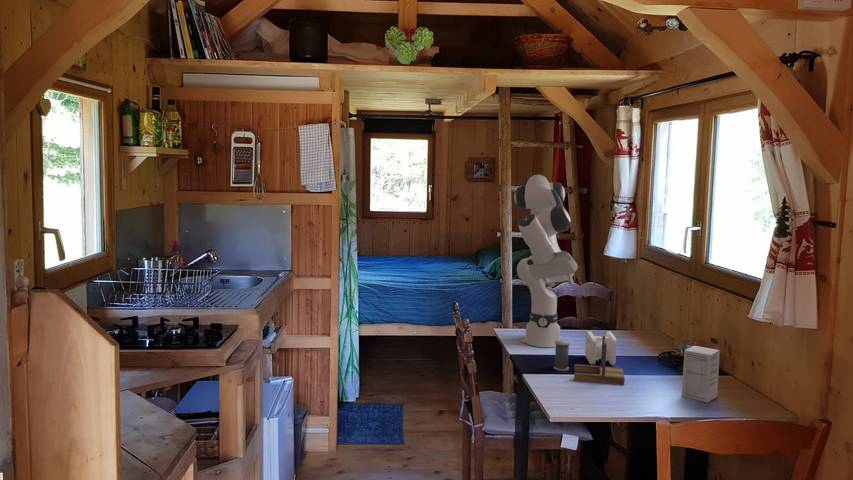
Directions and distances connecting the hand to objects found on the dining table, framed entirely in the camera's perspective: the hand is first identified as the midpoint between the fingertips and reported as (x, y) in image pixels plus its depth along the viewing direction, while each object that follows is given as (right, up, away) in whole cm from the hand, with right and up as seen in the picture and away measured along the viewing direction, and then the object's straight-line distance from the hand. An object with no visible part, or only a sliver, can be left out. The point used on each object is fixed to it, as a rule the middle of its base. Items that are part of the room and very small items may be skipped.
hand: (562, 284), depth 264 cm
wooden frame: (+13, -35, -4) cm, 37 cm away
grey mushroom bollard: (+1, -33, +7) cm, 34 cm away
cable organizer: (+19, -33, +17) cm, 41 cm away
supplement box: (+44, -38, -23) cm, 62 cm away
